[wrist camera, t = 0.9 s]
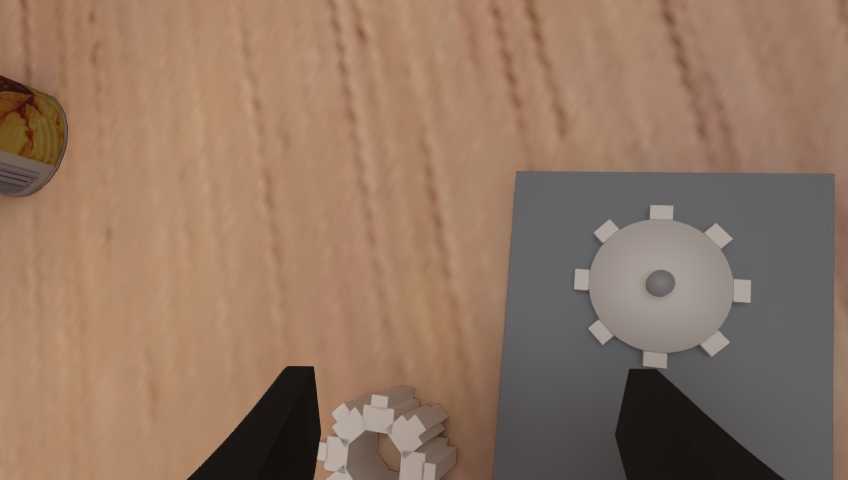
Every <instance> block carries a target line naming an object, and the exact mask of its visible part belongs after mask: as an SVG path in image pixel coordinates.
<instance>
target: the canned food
mask: <svg viewBox="0 0 848 480" xmlns="http://www.w3.org/2000/svg"><path fill="white" fill-rule="evenodd" d="M66 142H67V123H66V118H65V114H64V112H63V110H62V108H61V106H60V104H59V103H58V102H57V101H56V100H55V99H54V98H53V97H52V96H49V95H47V94H45V93H43V92H40V91H38V90H35V89H33V88H30V87H28V86H25V85H23V84H20V83H18V82H15V81H13V80H11V79H8V78H6V77H3V76H1V75H0V194H3V195H8V196H14V197H22V196H27V195H30V194H32V193H34V192H36V191H37V190H39V189H41V188H42V187H43V186H44V185H45V184H46V183H47V182H48V181H49V180H50V179H51V177H52V176H53V174H54V173H55V171H56V170H57V169H58V167H59V164H60V162H61V160H62V157H63V155H64V151H65V147H66Z"/></svg>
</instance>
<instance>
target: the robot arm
mask: <svg viewBox="0 0 848 480" xmlns="http://www.w3.org/2000/svg"><path fill="white" fill-rule="evenodd" d="M320 437H321V427H320V418H319V409H318V400H317V391H316V382H315V373H314V366H287V367H286V368H285V369H284V370H283V371H282V372H281V373H280V375H279V376H278V377H277V379H276V380H275V381H274V382H273V384H272V385H271V386H270V388H269V389H268V390H267V391H266V393H265V394H264V395H263V396H262V398H261V399H260V400H259V401H258V403H257V404H256V405H255V406H254V408H253V409H252V410H251V411H250V412H249V414H248V415H247V416H246V417H245V418H244V419H243V420H242V422H241V423H240V424H239V425H238V426H237V427H236V429H235V430H234V431H233V432H232V433H231V434H230V435H229V437H228V438H227V439H226V440H225V441H224V442H223V443H222V444H221V445H220V446H219V447H218V448H217V449H216V450H215V451H214V453H213V454H212V455H211V456H210V457H209V458H208V459H207V460H206V461H205V462H204V463H203V464H202V465H201V466H200V467H199V468H198V469H197V470H196V471H195V472H194V473H193V474H192V475H191V476H190V477H189V478H188V479H187V480H313V479H314V474H315V468H316V463H317V457H318V450H319V443H320ZM615 437H616V441H617V445H618V449H619V453H620V457H621V460H622V464H623V468H624V471H625V475H626V478H627V480H785V479H784V478H782V477H781V476H780V475H778V474H777V473H776V472H774V471H773V470H772V469H771V468H769V467H768V466H767V465H766V464H764V463H763V462H762V461H761V460H759V459H758V458H757V457H756V456H754V455H753V454H752V453H751V452H749V451H748V450H747V449H746V448H745V447H743V446H742V445H741V444H740V443H739V442H737V441H736V440H735V439H734V438H733V437H731V436H730V435H729V434H728V433H727V432H726V431H725V430H723V429H722V428H721V427H720V426H719V425H718V424H717V423H715V422H714V421H713V420H712V419H711V418H710V417H709V416H708V415H706V414H705V413H704V412H703V411H702V410H701V409H700V408H699V407H698V406H697V405H695V404H694V403H693V402H692V401H691V400H690V399H689V398H688V397H687V396H686V395H685V394H683V393H682V392H681V391H680V390H679V389H678V388H677V387H676V386H675V385H674V384H673V383H672V382H670V381H669V380H668V379H667V378H666V377H665V376H664V375H663V374H661V373H660V372H659V371H658V370H657V369H629V372H628V377H627V381H626V386H625V390H624V395H623V400H622V404H621V409H620V413H619V418H618V423H617V427H616V432H615Z"/></svg>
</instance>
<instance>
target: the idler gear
mask: <svg viewBox="0 0 848 480" xmlns="http://www.w3.org/2000/svg"><path fill="white" fill-rule="evenodd" d="M413 397H414V388H409V387H403V386H398V387H395V388H392V389H388V390H385V391H381V392H378V393H375V394H371V395H368V396H364V397H361V398H358V399H354V400H351V401H347V402H344V403H343V404H342V405H340V406H339V407H338V408H337V409H336V410H335V411H334V412H332V415H333V416H334V418H335V419H336V421H337V423H336V424H335V425H334V426H333V427H332V428H333V429H334V431H335V432H336V433H333V434H330V435H328V437H327V438H325V439H322V440H320V443H319V450H318V457H317V460H321V461H325V465H324V469H326V470H330V471H335V472H334V473H333V474H332V475H331V476H330V477H328V478H327V479H326V480H440V479H441V477H442V476H443V475H444V474H446V473H447V472H448V471H449V470H450V469H451V468H452V467H453V466H454V465H456V456H457V447H452V446H447V445H448V438H444V437H438V435H439V434H440V433H441V432H443V431H444V430H445V428H444V426H443V425H442V424H441V423H442V422H443V421H444V420H446V419H447V418H448V415H447V414H446V413H445V411H444V410H443V409H442V407H441V406H440V405H439V404H437V405H435V406H433V407H429V406H428V404H426V405H424V406H421V407H419V403H420V399H415V398H413ZM379 432H380V433H385V434H388V436H389V437H390V438H391V440H392V441H393V443H394V444H395V446H396V447H397V449H398V450H399V452H400V453H401V466H400V472H396V471H391V470H389V469H388V468H387V466H386V465H385V463H384V462H383V460H382V459H381V457H380V456H379V454H378V453H377V446H378V436H379Z"/></svg>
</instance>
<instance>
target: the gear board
mask: <svg viewBox="0 0 848 480" xmlns="http://www.w3.org/2000/svg"><path fill="white" fill-rule="evenodd" d="M833 334H834V174H770V173H659V172H547V171H517V172H516V185H515V198H514V211H513V224H512V238H511V251H510V264H509V277H508V290H507V303H506V316H505V330H504V343H503V356H502V369H501V382H500V395H499V408H498V422H497V435H496V448H495V461H494V474H493V480H627V478H626V475H625V471H624V468H623V464H622V460H621V457H620V453H619V449H618V445H617V441H616V437H615V432H616V427H617V423H618V418H619V413H620V409H621V404H622V400H623V395H624V390H625V386H626V381H627V377H628V372H629V369H657V370H658V371H659V372H660V373H661V374H663V375H664V376H665V377H666V378H667V379H668V380H669V381H670V382H672V383H673V384H674V385H675V386H676V387H677V388H678V389H679V390H680V391H681V392H682V393H683V394H685V395H686V396H687V397H688V398H689V399H690V400H691V401H692V402H693V403H694V404H695V405H697V406H698V407H699V408H700V409H701V410H702V411H703V412H704V413H705V414H706V415H708V416H709V417H710V418H711V419H712V420H713V421H714V422H715V423H717V424H718V425H719V426H720V427H721V428H722V429H723V430H725V431H726V432H727V433H728V434H729V435H730V436H731V437H733V438H734V439H735V440H736V441H737V442H739V443H740V444H741V445H742V446H743V447H745V448H746V449H747V450H748V451H749V452H751V453H752V454H753V455H754V456H756V457H757V458H758V459H759V460H761V461H762V462H763V463H764V464H766V465H767V466H768V467H769V468H771V469H772V470H773V471H774V472H776V473H777V474H778V475H780V476H781V477H782V478H784V479H785V480H833Z"/></svg>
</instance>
